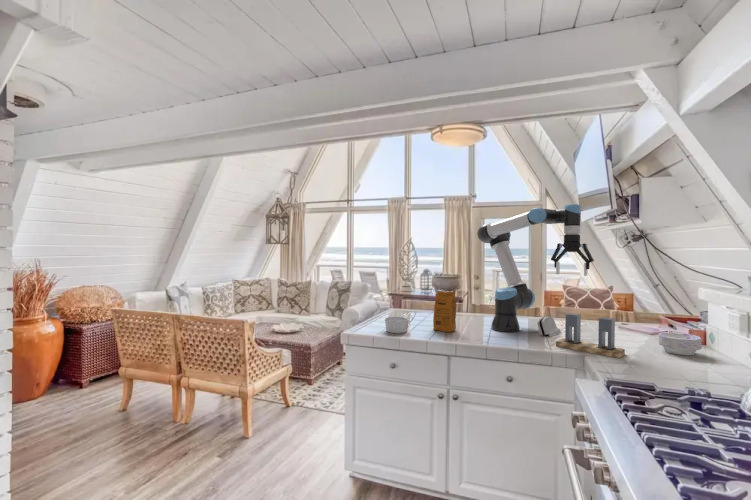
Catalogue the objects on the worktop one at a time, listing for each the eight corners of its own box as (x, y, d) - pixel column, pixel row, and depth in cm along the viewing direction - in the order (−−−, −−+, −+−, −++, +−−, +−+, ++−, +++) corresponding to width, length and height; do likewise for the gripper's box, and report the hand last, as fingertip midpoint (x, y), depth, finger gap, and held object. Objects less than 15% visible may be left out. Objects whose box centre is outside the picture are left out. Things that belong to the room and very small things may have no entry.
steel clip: (598, 353, 168) (598, 318, 168) (601, 351, 171) (602, 317, 171) (611, 355, 164) (611, 320, 164) (614, 353, 168) (614, 318, 168)
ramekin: (408, 329, 214) (409, 316, 214) (408, 334, 201) (408, 321, 201) (385, 328, 216) (385, 316, 215) (383, 333, 202) (383, 320, 202)
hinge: (550, 337, 198) (543, 318, 200) (541, 338, 201) (535, 320, 203) (560, 332, 210) (554, 314, 212) (552, 333, 213) (546, 316, 215)
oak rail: (556, 346, 179) (556, 341, 179) (562, 343, 185) (562, 338, 185) (619, 358, 161) (619, 352, 161) (624, 354, 166) (624, 348, 166)
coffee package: (438, 327, 220) (438, 289, 219) (458, 330, 212) (458, 291, 212) (430, 330, 212) (430, 290, 211) (450, 333, 204) (451, 292, 204)
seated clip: (565, 346, 178) (565, 314, 178) (569, 345, 182) (569, 312, 181) (576, 349, 174) (577, 315, 174) (580, 347, 178) (580, 314, 178)
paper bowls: (649, 348, 177) (650, 331, 177) (680, 348, 178) (680, 331, 178) (677, 358, 162) (677, 339, 162) (711, 357, 163) (711, 339, 163)
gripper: (544, 234, 203) (544, 273, 204) (596, 233, 185) (595, 276, 186) (550, 234, 209) (549, 273, 209) (601, 234, 191) (600, 276, 191)
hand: (571, 274), depth 197 cm, fingers open, 13 cm apart
